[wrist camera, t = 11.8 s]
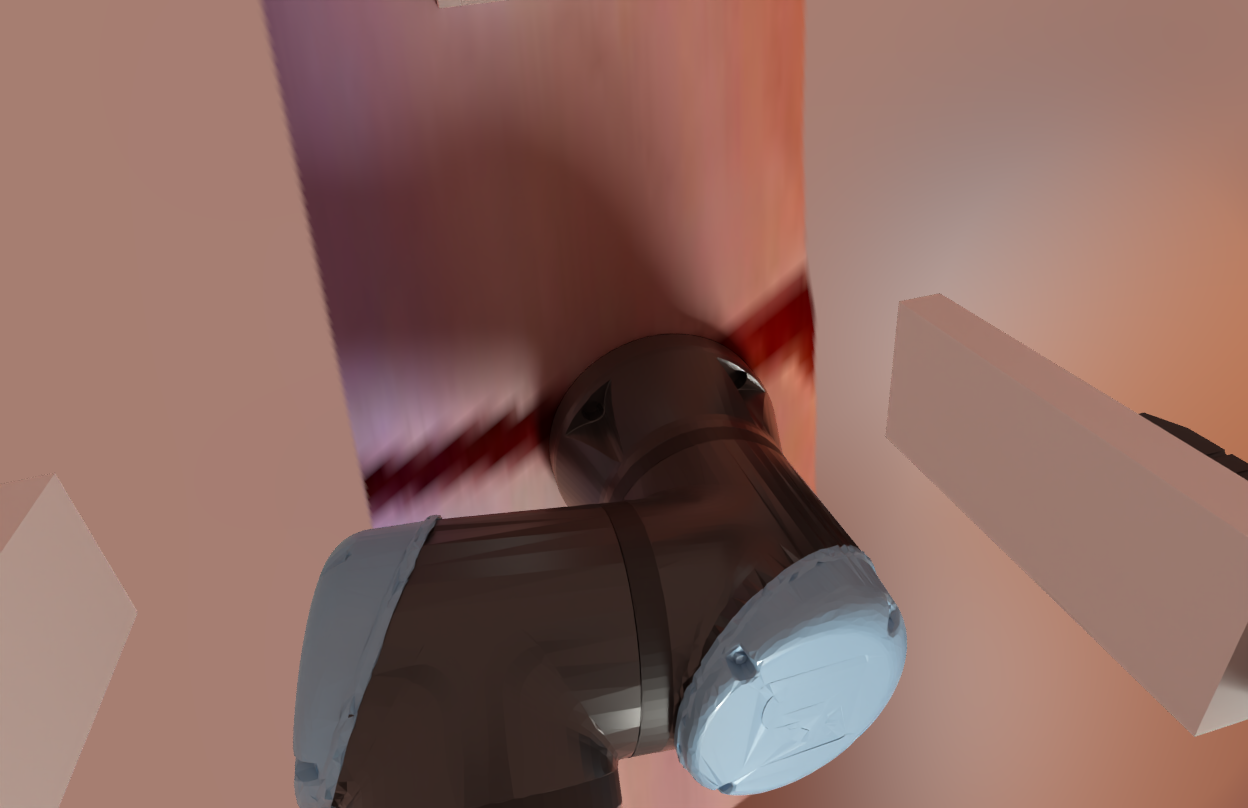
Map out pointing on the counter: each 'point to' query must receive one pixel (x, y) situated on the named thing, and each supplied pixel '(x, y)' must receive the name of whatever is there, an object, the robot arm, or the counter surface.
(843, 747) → the robot arm
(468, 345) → the counter surface
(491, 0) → the holder
